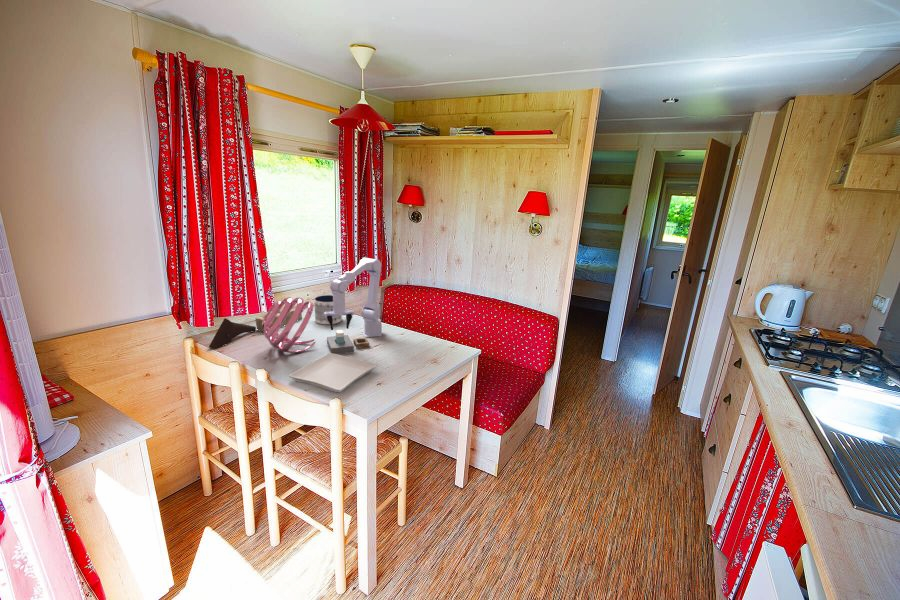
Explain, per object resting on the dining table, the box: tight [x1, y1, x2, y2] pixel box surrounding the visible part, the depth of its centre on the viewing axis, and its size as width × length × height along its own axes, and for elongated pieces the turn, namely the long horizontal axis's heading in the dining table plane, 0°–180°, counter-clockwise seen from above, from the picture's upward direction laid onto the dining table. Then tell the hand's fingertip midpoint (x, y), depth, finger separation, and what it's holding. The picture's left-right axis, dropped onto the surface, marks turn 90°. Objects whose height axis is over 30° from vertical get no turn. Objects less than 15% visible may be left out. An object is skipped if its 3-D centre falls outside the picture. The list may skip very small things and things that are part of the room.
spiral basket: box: [262, 296, 316, 354], centre depth 191 cm, size 28×28×27 cm
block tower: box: [255, 304, 303, 332], centre depth 226 cm, size 8×8×29 cm
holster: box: [208, 317, 257, 349], centre depth 201 cm, size 5×16×25 cm
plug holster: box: [352, 337, 370, 349], centre depth 203 cm, size 7×8×2 cm
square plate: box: [287, 352, 377, 393], centre depth 168 cm, size 27×27×4 cm
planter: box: [313, 294, 343, 325], centre depth 236 cm, size 16×16×14 cm
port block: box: [326, 334, 355, 355], centre depth 198 cm, size 11×16×4 cm
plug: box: [335, 329, 345, 344], centre depth 197 cm, size 4×4×8 cm
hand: (339, 328), depth 196 cm, fingers open, 7 cm apart
